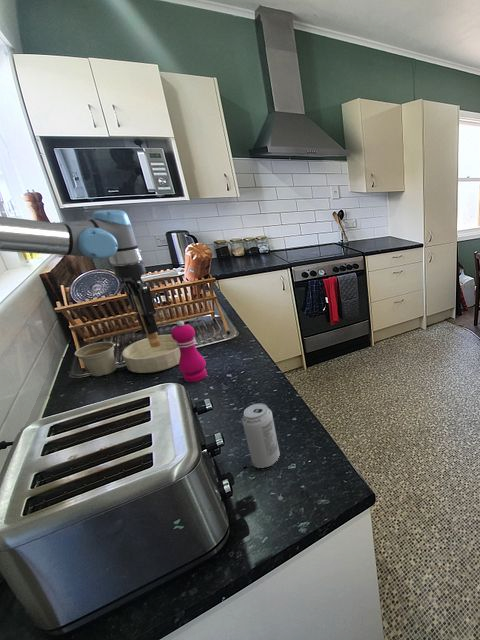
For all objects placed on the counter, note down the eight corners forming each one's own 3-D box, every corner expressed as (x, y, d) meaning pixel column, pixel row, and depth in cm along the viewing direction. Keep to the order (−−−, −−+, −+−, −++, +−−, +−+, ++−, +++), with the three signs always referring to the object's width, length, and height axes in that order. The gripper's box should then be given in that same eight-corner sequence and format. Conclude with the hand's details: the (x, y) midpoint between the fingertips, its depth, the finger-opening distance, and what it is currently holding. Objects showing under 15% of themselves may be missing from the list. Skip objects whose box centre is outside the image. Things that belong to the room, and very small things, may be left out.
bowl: (144, 380, 109) (138, 364, 107) (118, 365, 117) (112, 349, 115) (200, 357, 123) (195, 342, 121) (173, 344, 131) (169, 330, 129)
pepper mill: (213, 371, 115) (199, 317, 107) (198, 384, 109) (182, 326, 100) (193, 370, 116) (177, 315, 108) (177, 382, 109) (158, 325, 101)
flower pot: (113, 377, 110) (104, 354, 107) (78, 381, 108) (67, 357, 105) (128, 362, 119) (120, 340, 115) (95, 365, 116) (85, 343, 113)
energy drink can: (261, 450, 85) (250, 400, 79) (285, 452, 84) (275, 402, 78) (247, 469, 79) (234, 418, 73) (272, 472, 79) (261, 420, 73)
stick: (153, 348, 116) (133, 292, 108) (149, 346, 117) (129, 290, 109) (162, 344, 118) (144, 289, 110) (158, 342, 120) (139, 288, 111)
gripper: (154, 264, 105) (175, 332, 115) (129, 256, 112) (151, 321, 122) (125, 269, 99) (150, 341, 109) (100, 261, 106) (126, 329, 116)
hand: (150, 331), depth 116 cm, fingers closed on stick, 3 cm apart
